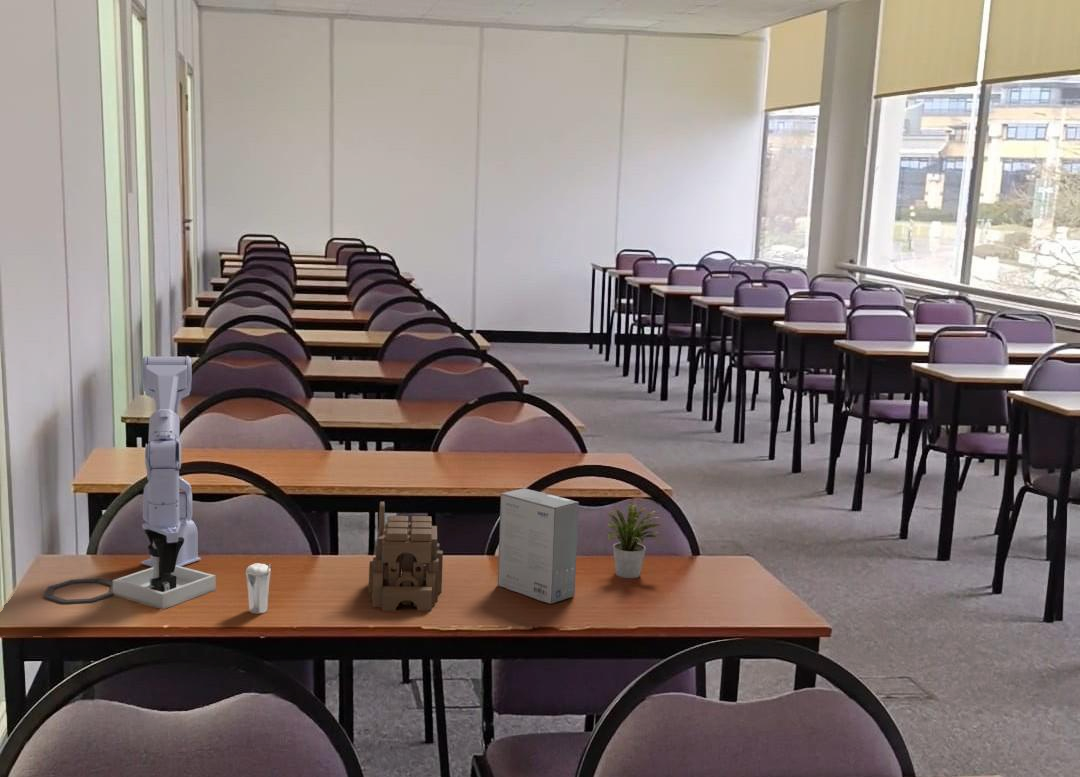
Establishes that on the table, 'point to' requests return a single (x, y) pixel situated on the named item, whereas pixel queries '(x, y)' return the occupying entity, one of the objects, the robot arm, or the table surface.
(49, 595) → the seat ring
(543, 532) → the hard drive box
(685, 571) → the table surface
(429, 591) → the wooden puzzle
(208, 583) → the tray
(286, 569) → the table surface
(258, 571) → the milkshake
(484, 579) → the table surface
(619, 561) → the house plant
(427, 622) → the table surface
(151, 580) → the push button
